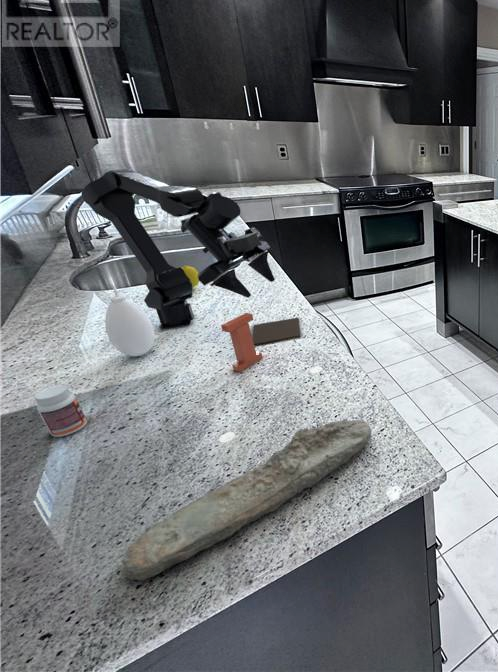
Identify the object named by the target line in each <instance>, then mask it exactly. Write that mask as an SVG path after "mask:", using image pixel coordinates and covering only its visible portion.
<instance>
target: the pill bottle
mask: <svg viewBox="0 0 498 672" xmlns="http://www.w3.org/2000/svg"><path fill="white" fill-rule="evenodd" d="M34 400H35V401H36V403H37V406H36V410H37V413H38V414H39V416H40V417H41V419H42V421H43V423H44V425H45V427H46V429H47V430H48V431H49V434H50V435H51V436H52V437H55V438H61V437H66V436H69V435H72V434H74V433H76V432H78V431H80V430H82V429H83V428H84V427H85V426H86V424H87V423H88V420H87V418H86V416H85V414H84V412H83V409H82V408H81V405H80V404H79V402H78V399H77V397H76V395H75V394H73V393H71V391H70V390H69V388H68V386H67V385H64V384H57V385H53V386H50V387H47V388H44V389H42V390H40V391H38V392H37V393H36V394H35V395H34Z"/></svg>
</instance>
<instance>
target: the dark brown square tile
mask: <svg viewBox="0 0 498 672" xmlns="http://www.w3.org/2000/svg"><path fill="white" fill-rule="evenodd" d="M301 337H302V336H301V329H300V320H299V317H294V318H293V317H292V318H288V319H282V320H281V319H280V320H275V321H269V322H264V323H258V324H253V329H252V339H253V343H254V347H255V346H259V345H266V344H270V343H275V342H280V341H286V340H290V339H291V340H292V339H297V338H301Z"/></svg>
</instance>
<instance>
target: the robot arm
mask: <svg viewBox="0 0 498 672" xmlns="http://www.w3.org/2000/svg"><path fill="white" fill-rule="evenodd" d="M135 195H136V196H138V197H141V198H144V199H147V200H149V201H152V202H154V203H156V204H158V205H159V207H160V209H161V210H162V211H164V212H165V213H167V214H169V215H171V216H172V217H175V218H180V217H184V216H189V215H191V216H190V217H187V218H184V219H182V220H180V223H181V225H180V231H181V233H186V232H190V233H191V234H192V235H193V237H194V238H195V239H196V240H197V241H198V242H199V243H200V244H201V245H202V246H203V247H204V248H202V252H203V253H204V254H208V253H210V254H211V256H213V258H215V259H216V261H215V262H213V263H211V264H209V265H208V266H206V267H205V268H204V269H203V270H201V271H200V272H198V280H199V283H200V284H202V285H203V286H204V287H205V286H207V285H209V286H211V287H214V286H215V287H218V288H221V289H224V290H228V291H230V292H233V293H235V294H237V295H239V296H243V297H245V298H248V299H249V298H250V297H251V296H252V294H251V292H250V291H249V290H248V288H247V287H245V285H244V284H243V283H242V282H241V281H240V279H239V278H238V277H237V275H236V270H235V268H234V267H236V266H237V265H239V264H241V263H243V262H248V264H247V266H249V268H251V269H253V270H254V271H255V272H257V274H259V275H260V276H262V277H263V278H264V279H266V280H267V281H269V282H270V283H273V282H275V280H276V278H275V276H274V273H273V272H272V268H271V267H270V264H269V261H268V256H269V253H270V250H269V249H271V245H269V243H268V242H267V241H265V240H262V239H263V234H261V232H260V231H259V229H257V228H256V227H250V228H248V229H245V230H244V234H241V235H237V234H236V233H234V232H232V231H231V232H227V231H226V230H225V228H227V227H228V226H229V225H230V224H231V223H232V222H234V221H235V220H236V219H237V218H238V217H239V216H240V214H241V207H240V205H239V203H238V202H236V201H235V200H233V199H231V198H230V197H228V196H223V195H222V194H221V193H220V191H216V192H215V191H214V192H210V194H208V195H207V194H205V193H203V191H201V190H200V189H198V188H196V187H191V186H186V185H185V186H184V185H183V186H182V185H170V184H167V183H164V182H161V181H160V180H156V179H153V178H151V177H148V176H145V175H143V174H140V173H137V172H136V171H135V170H133V169H129V168H123V169H122V168H121V169H112V170H108V171H106V172H104V174H103V175H102V176H101V177H98V178H96V179H94V180H93V181H91V182H89V183H88V184H86V185H85V186H84V187H83V190H82V191H81V197H82V200H83V201H84V202H85V204H87V205H88V206H89V208H90V209H91V210H92V211H93V212H94V213H95V214H96V215H98V216H100V217H102V218H104V219H106V220H108V221H109V222H110V223H112V225H113V227H114V228H115V229H116V230H117V233H118V234H119V235H120V237H121V238H122V240H123V241H124V242H125V244H126V245H127V246H128V248H129V250H130V251H131V252H132V254H133V255H134V257H135V259H137V261H138V262H139V264H140V265H141V267H142V269H143V270H144V271H145V273H146V276H145V277H146V278H145V279H146V280H145V286H146V287H147V288H146V289H148V293H147V294H146V296H145V298H143V301H144V303H145V305H146V307H147V308H148V309H153V310H155V311H156V314H157V317H158V320H159V322H160V325H159V329H160V330H166V329H167V330H168V329H174V328H179V327H185V326H190V325H191V323H192V321H193V320H194V317H195V314H194V311H193V307H192V304H191V303H189V302H188V300H189V299H192V298H193V289H192V283H191V281H190V279H189V278H188V277H187V275H186V274H185V272H184V270H183V269H182V267H180V266H178V267H176V266H175V267H174V266H173V265H171V264H169V262H168V261H167V260H166V258H165V257H164V255H163V254H162V252H161V250H160V249H159V248H158V247H157V245H156V243H155V242H154V241H153V239H152V237H151V236H150V235H149V233H148V232H147V230H146V229H145V227H144V226H143V224H142V222H141V221H140V219H139V218H138V217H137V215H136V214H135V212H136V200H135V198H134V196H135ZM232 268H233V269H232ZM230 269H231V270H230Z"/></svg>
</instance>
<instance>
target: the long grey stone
mask: <svg viewBox="0 0 498 672" xmlns="http://www.w3.org/2000/svg"><path fill="white" fill-rule="evenodd" d="M371 438H372V428H371V426H370V425H369V423H368V422H366V420H363V419H362V420H361V419H351V420H347V419H343V420H337V421H330V422H327V423H325V424H323V425H319V426H317V427H313V428H310V429H308V428H306V427H304V428H300V429H298V430H296V432H295V433H294V434H293V436H292V437H291V440H290V441H289V442H288V443H287V444H286V445H285V446H284V447H283V448H282V449H281V450H279V451H277V452H274V453H273V454H272V455H271V456H270V457H269V459H268V460H267V461H266V462H264V464H261V465H259V466H257V467H256V468H254V469H252V470H250V471H247V472H245V473H243V474H242V475H240V476H238V477H236V478H234V479H231V480H229V481H227V482H226V483H225V484H224V485H222V486H220V487H219V488H217V489H215V490H212V491H210V492H208V493H207V494H205V495H203V496H201V497H199V498H197V499H196V500H195V501H194V502H192V503H191V504H187V505H185V506H182V508H180V509H179V510H176V511H175V512H174V513H173V514H172V515H170V516H168V517H167V518H165V519H164V520H162V521H159V522H158V521H157V522H156V523H154V524H153V525H150V526H148V527H146V528H145V531H144V532H143V533H142V534H141V535H139V537H138V538H136V540H134V541H133V542H131V544H130V545H129V546H128V547H127V550H126V552H125V555H124V556H123V558H122V559H121V562H122V565H123V569H122V571H123V572H122V573H123V574H124V575H125V576H126V578H127V579H128V580H133V581H134V580H136V581H146V580H148V579H150V578H154V577H155V576H157V575H159V574H162V573H163V572H164V571H166V570H168V569H169V568H171V567H172V566H175V565H176V564H179V563H182V562H184V561H185V560H190V558H192V557H193V556H195V555H196V554H197V553H199V552H201V551H203V550H207V549H209V548H211V547H212V546H214V545H216V544H217V543H219V542H221V541H224V540H225V539H227V538H229V537H232V536H233V535H234V534H235V533H236V532H239V531H240V529H242V527H245V526H247V525H249V524H251V522H256V521H257V520H259V519H260V518H261V517H263V516H264V515H267V514H269V513H273V512H275V511H276V510H278V509H279V508H280V506H282V505H283V504H284V503H286V502H287V501H288V500H289V499H292V498H294V496H296V495H297V494H300V493H301V492H302V491H303V490H304V489H306V488H311V487H313V486H315V484H317V483H319V482H320V481H321V480H322V479H323V478H326V476H327V475H329V474H330V473H332V472H333V471H335V470H336V469H338V468H339V467H341V466H342V465H344V464H346V463H348V462H349V461H351V459H352V457H354V456H355V455H356V454H357V453H359V452H360V451H361V450H362V449H363V448H365V446H366V445H367V444H368V443H369V442H370V439H371Z"/></svg>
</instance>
